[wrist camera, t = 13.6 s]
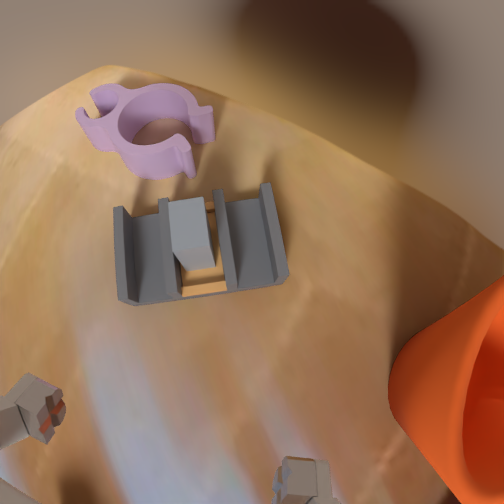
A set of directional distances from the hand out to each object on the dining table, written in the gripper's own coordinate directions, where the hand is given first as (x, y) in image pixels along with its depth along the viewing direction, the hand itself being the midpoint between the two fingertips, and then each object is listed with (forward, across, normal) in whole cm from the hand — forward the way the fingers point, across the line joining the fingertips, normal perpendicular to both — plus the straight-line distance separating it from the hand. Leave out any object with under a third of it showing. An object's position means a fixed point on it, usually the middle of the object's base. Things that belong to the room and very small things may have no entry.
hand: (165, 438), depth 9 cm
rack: (+32, +5, +6) cm, 32 cm away
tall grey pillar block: (+30, +5, +5) cm, 31 cm away
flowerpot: (+25, -31, +14) cm, 42 cm away
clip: (+41, +18, -6) cm, 45 cm away
